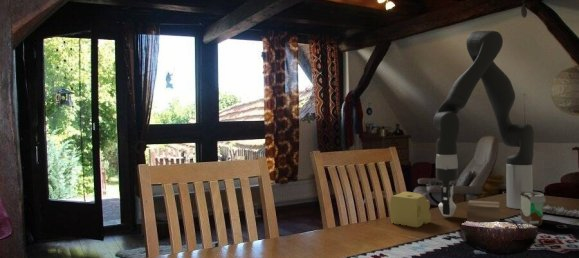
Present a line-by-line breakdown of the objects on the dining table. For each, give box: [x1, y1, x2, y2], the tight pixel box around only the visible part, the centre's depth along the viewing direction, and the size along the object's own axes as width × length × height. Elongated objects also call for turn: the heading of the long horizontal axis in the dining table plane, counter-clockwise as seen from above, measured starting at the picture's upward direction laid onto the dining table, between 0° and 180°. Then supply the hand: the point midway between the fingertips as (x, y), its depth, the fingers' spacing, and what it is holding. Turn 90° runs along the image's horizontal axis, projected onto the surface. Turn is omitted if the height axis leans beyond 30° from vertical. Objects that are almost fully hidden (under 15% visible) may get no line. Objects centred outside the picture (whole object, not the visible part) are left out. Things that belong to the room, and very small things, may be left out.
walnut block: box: [466, 200, 501, 222], centre depth 154 cm, size 10×10×6 cm
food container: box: [520, 191, 547, 227], centre depth 150 cm, size 12×6×10 cm, turn 168°
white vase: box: [438, 198, 457, 218], centre depth 160 cm, size 6×6×7 cm
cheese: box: [390, 191, 432, 228], centre depth 153 cm, size 10×11×10 cm
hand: (447, 212), depth 160 cm, fingers closed on white vase, 6 cm apart
